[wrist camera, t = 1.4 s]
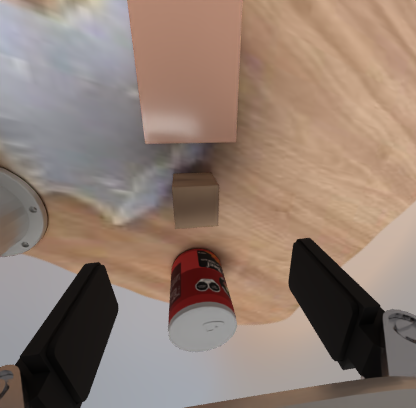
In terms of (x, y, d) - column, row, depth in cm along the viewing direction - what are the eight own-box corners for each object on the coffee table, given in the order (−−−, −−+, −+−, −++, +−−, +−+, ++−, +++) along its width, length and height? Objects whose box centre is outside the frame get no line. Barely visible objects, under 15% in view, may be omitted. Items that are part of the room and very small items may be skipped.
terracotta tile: (233, 141, 26) (235, 142, 25) (146, 143, 24) (145, 143, 23) (240, -3, 20) (242, -8, 19) (127, -10, 19) (125, -17, 18)
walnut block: (210, 206, 29) (218, 225, 23) (176, 208, 28) (175, 229, 23) (210, 172, 27) (218, 185, 21) (173, 173, 26) (172, 187, 21)
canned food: (227, 271, 34) (247, 335, 24) (185, 291, 34) (188, 361, 24) (207, 238, 31) (221, 295, 21) (162, 260, 31) (154, 326, 21)
